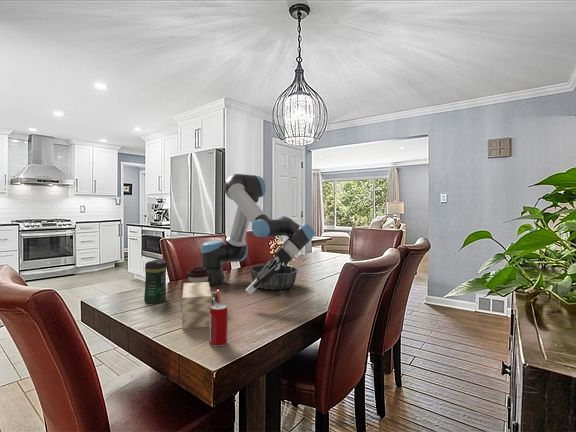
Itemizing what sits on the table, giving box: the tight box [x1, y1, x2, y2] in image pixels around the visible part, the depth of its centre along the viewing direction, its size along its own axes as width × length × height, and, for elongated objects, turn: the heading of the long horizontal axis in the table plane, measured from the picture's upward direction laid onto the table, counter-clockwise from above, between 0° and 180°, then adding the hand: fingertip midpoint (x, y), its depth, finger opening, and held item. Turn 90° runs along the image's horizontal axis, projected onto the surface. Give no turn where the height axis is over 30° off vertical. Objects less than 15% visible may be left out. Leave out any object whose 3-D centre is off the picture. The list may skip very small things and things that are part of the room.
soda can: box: [208, 303, 229, 348], centre depth 99 cm, size 6×6×12 cm
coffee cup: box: [186, 266, 210, 283], centre depth 142 cm, size 10×10×15 cm
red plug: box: [211, 289, 221, 304], centre depth 128 cm, size 12×6×6 cm, turn 107°
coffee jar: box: [143, 258, 167, 304], centre depth 142 cm, size 10×8×19 cm
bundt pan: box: [249, 264, 299, 291], centre depth 173 cm, size 26×26×10 cm
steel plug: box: [180, 297, 217, 314], centre depth 117 cm, size 12×6×6 cm, turn 107°
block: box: [181, 282, 212, 330], centre depth 122 cm, size 10×22×11 cm, turn 17°
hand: (247, 292), depth 134 cm, fingers closed
